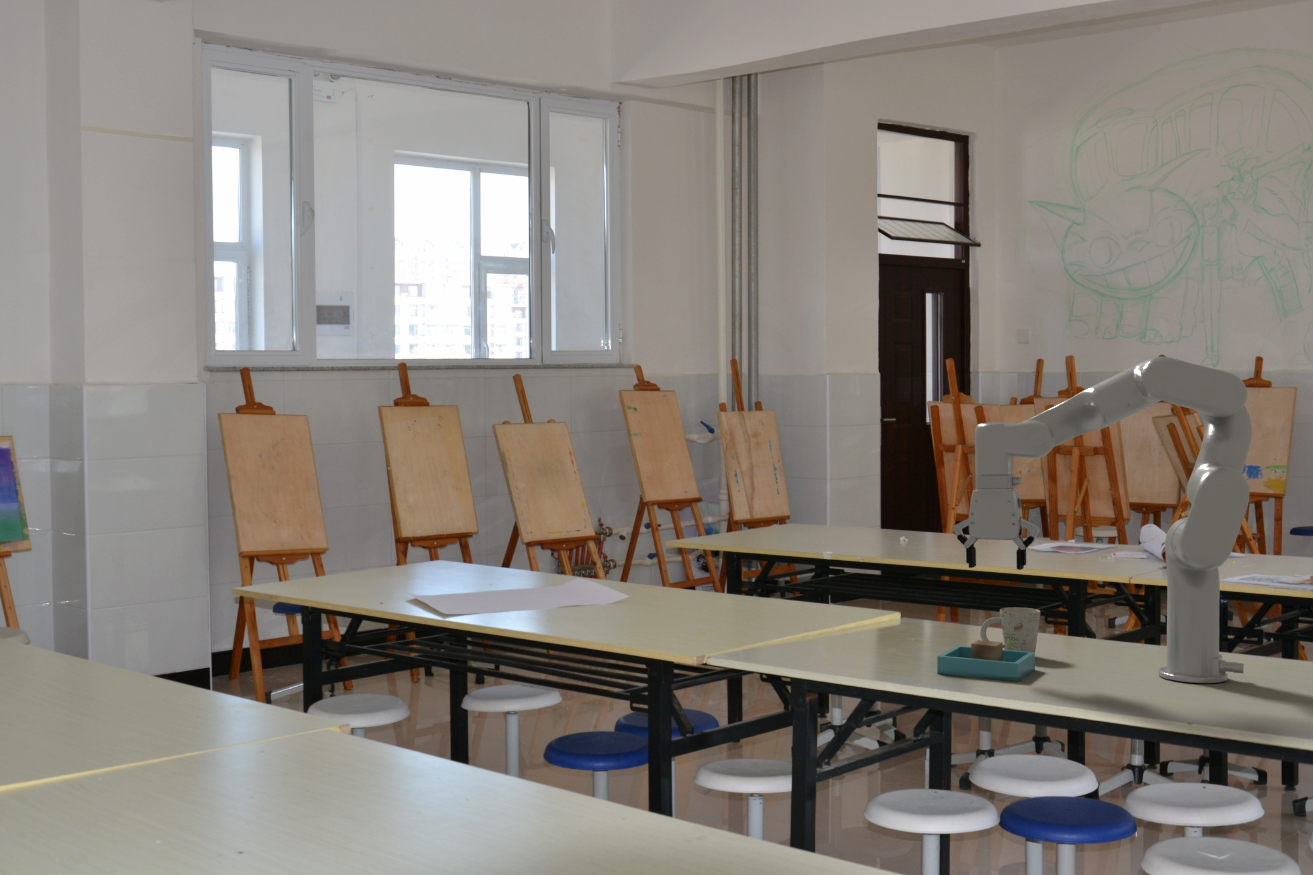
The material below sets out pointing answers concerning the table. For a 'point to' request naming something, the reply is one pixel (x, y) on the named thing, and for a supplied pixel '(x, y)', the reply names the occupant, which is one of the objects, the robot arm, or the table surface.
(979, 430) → the robot arm
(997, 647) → the block
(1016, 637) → the mug
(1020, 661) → the tray
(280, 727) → the table surface
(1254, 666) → the table surface
